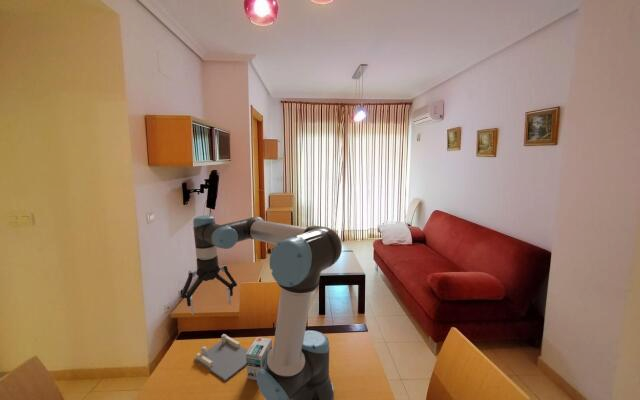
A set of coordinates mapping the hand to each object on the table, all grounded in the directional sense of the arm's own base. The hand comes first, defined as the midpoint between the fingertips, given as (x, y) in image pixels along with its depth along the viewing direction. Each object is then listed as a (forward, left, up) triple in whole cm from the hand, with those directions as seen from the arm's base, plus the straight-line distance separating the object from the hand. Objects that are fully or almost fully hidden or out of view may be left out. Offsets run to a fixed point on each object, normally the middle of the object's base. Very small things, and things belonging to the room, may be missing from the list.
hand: (211, 308), depth 116 cm
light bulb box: (-17, -8, -25) cm, 31 cm away
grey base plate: (-1, -5, -25) cm, 25 cm away
